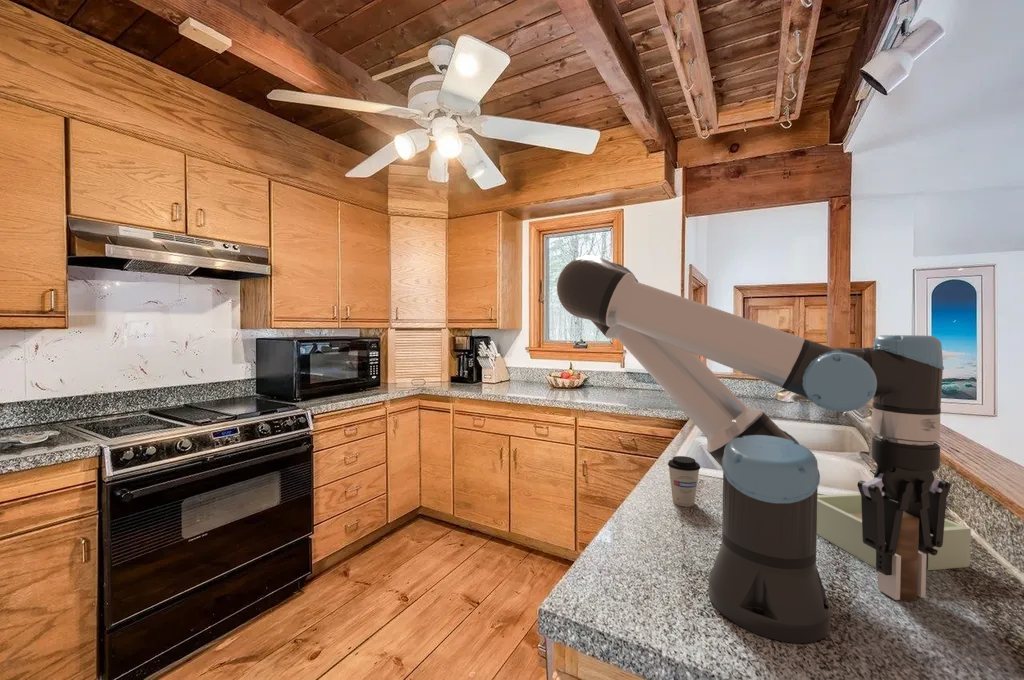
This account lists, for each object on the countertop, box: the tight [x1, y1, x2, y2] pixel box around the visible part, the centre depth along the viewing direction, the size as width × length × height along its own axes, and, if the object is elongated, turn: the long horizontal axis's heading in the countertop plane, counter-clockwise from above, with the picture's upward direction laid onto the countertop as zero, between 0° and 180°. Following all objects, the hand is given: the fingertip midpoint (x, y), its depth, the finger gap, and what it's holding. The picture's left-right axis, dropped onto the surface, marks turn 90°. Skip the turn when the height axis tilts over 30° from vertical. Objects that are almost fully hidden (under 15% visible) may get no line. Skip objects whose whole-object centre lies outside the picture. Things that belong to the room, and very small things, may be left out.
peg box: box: [817, 492, 972, 571], centre depth 79 cm, size 16×16×6 cm
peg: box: [896, 512, 919, 603], centre depth 65 cm, size 4×4×12 cm
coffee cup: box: [667, 455, 701, 508], centre depth 99 cm, size 7×7×10 cm
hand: (901, 592), depth 65 cm, fingers closed on peg, 4 cm apart
